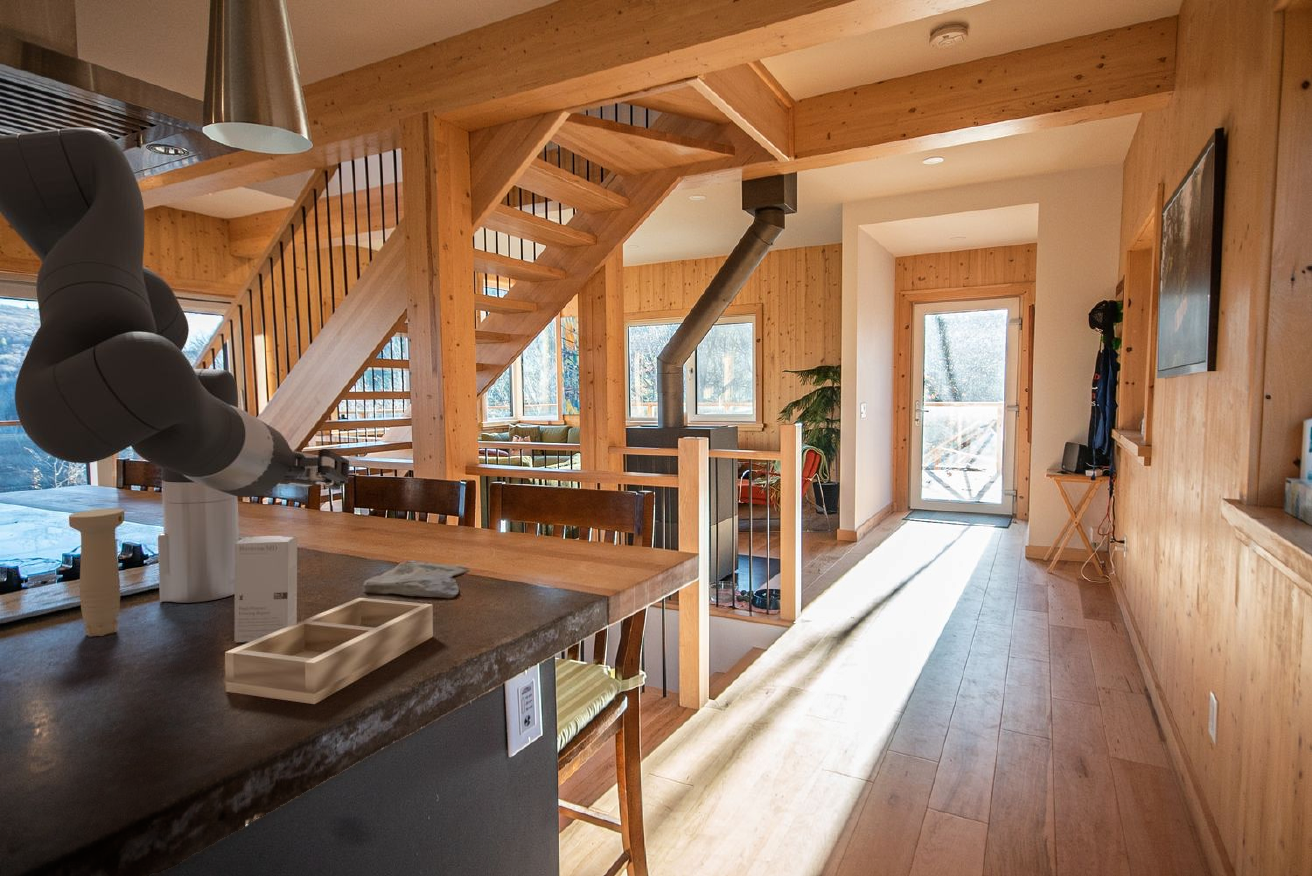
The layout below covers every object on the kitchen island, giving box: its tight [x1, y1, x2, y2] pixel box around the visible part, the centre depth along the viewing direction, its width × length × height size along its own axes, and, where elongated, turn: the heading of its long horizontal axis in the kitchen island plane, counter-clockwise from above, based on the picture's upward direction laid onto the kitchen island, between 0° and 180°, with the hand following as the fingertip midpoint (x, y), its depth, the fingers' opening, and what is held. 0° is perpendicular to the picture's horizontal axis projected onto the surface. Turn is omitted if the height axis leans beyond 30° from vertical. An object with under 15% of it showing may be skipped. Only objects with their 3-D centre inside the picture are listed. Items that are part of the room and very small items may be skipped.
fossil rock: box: [362, 559, 470, 599], centre depth 112 cm, size 18×15×2 cm
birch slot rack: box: [224, 597, 434, 705], centre depth 78 cm, size 20×10×4 cm, turn 165°
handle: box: [68, 508, 125, 637], centre depth 86 cm, size 5×6×15 cm
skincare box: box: [233, 535, 298, 644], centre depth 86 cm, size 6×4×12 cm
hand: (299, 482), depth 81 cm, fingers open, 8 cm apart
